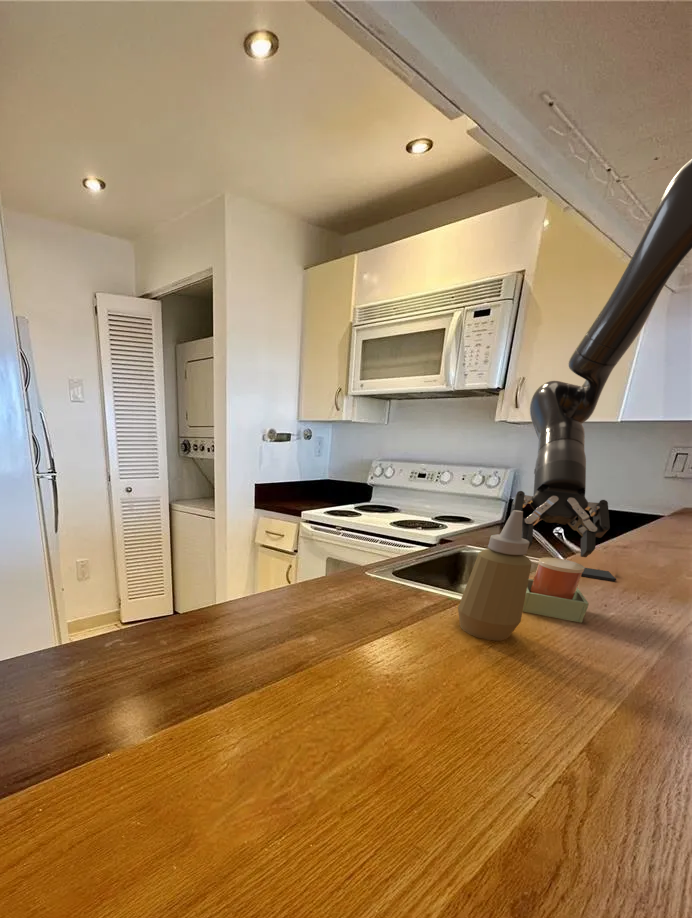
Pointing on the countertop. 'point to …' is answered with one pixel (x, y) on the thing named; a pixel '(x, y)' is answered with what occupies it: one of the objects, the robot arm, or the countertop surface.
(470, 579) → the squeeze bottle
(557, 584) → the tumbler
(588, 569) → the drying mat
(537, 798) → the countertop surface
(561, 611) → the green shallow open box
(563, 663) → the countertop surface
